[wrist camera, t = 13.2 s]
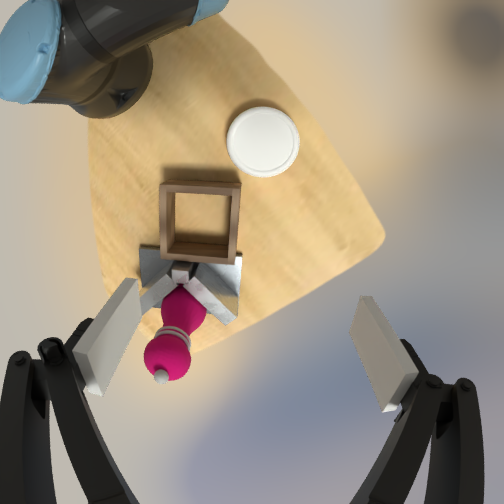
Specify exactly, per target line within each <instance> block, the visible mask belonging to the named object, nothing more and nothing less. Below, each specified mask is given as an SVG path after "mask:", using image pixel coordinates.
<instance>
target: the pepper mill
mask: <svg viewBox="0 0 504 504" xmlns="http://www.w3.org/2000/svg"><path fill="white" fill-rule="evenodd" d="M183 285H184V284H183V283H179V285H178V286H177V287H176V288H175V289H173V290H172V291H171V292H170V293H169V294H167V295H166V296H165V297H164V298H163V301H162V304H161V315H162V319H163V323H164V324H163V327H162V328H160V329H159V330H158V331H157V332H156V334H155V337H154V339H152V340H151V341H150V342H149V343H148V344H147V346H146V348H145V351H144V362H145V365H146V367H147V369H148V370H149V371H150V373H152V374H153V375H154V379H155V381H156V382H157V383H159V384H164V383H166V382H167V381H171V380H177V379H179V378H181V377H183V376H184V375H185V374H186V373H187V371H188V369H189V367H190V363H191V356H190V352H189V351H190V347H191V340H190V338H189V336H190V334H191V333H192V332H193V331H195V330H196V329H197V328H198V327H199V326H200V325H201V324H202V322H203V321H204V318H205V316H206V313H207V308H206V307H204V306H203V305H202V304H201V303H200V302H199V301H198V300H197V299H196V298H195V297H194V296H193V295H192V294H191V293H190V292H189V291H188V290H187V289H186V288H184V287H183Z"/></svg>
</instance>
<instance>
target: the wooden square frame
mask: <svg viewBox="0 0 504 504" xmlns="http://www.w3.org/2000/svg"><path fill="white" fill-rule="evenodd" d="M241 184H242V183H231V182H216V181H198V180H175V179H169V180H167V181H165V182H163V183H162V184H160V188H159V220H160V256H161V259H166V260H178V261H189V262H201V263H213V264H225V265H235V258H236V249H237V235H238V222H239V209H240V196H241ZM175 192H176V193H195V194H212V195H227V196H232V205H231V219H230V235H229V245H217V244H204V243H191V242H178V241H175Z"/></svg>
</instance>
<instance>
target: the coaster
mask: <svg viewBox="0 0 504 504" xmlns="http://www.w3.org/2000/svg"><path fill="white" fill-rule="evenodd" d="M299 144H300V140H299V134H298V130H297V128H296V126H295V124H294V122H293V121H292V120H291V119H290V118H289V117H288V116H287V115H286V114H285V113H283V112H281V111H280V110H277V109H275V108H271V107H254V108H251V109H248V110H246V111H244V112H242V113H241V114H240V115H238V116H237V117H236V118H235V120H234V121H233V122H232V124H231V125H230V128H229V130H228V133H227V139H226V145H227V150H228V154H229V156H230V158H231V160H232V162H233V163H234V164H235V165H236V166H237V167H238V168H239V169H240V170H241V171H243V172H245V173H247V174H249V175H252V176H255V177H271V176H275V175H278V174H280V173H282V172H283V171H285V170H286V169H287V168H289V167H290V165H291V164H292V163H293V162H294V160H295V158H296V156H297V154H298V151H299Z"/></svg>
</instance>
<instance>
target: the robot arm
mask: <svg viewBox="0 0 504 504" xmlns="http://www.w3.org/2000/svg"><path fill="white" fill-rule="evenodd" d="M228 1H229V0H28V1H27V2H25V3H24V4H23V5H22V6H21V7H19V9H17V10H16V11H15V13H14V14H13V15H12V16H11V18H10V19H9V20H8V22H7V23H6V25H5V26H4V28H3V30H2V32H1V34H0V98H1V99H3V100H6V101H11V102H18V103H20V104H27V103H28V104H29V103H47V104H48V103H49V104H65V105H69V106H71V107H72V108H73V109H74V110H75V111H77V112H78V113H79V114H81V115H83V116H86V117H89V118H98V119H105V118H111V117H114V116H117V115H119V114H121V113H123V112H125V111H126V110H128V109H129V108H130V107H131V106H133V105H134V104H135V103H136V102H137V101H138V99H139V98H140V97H141V96H142V94H143V93H144V91H145V90H146V88H147V86H148V83H149V81H150V78H151V74H152V69H153V59H152V54H151V51H150V49H149V47H148V45H147V43H149V42H151V41H153V40H156V39H158V38H160V37H162V36H164V35H166V34H168V33H171V32H173V31H175V30H177V29H180V28H182V27H185V26H192V25H194V24H195V23H196V22H197V21H200V20H202V19H204V18H207V17H209V16H212V15H215V14H217V13H219V12H221V11H222V10H223V9H224V8H225V6H226V5H227V3H228ZM141 319H142V313H141V305H140V297H139V289H138V279H133V278H125V279H124V281H123V282H122V283H121V284H120V286H119V287H118V288H117V290H116V291H115V292H114V293H113V295H112V296H111V297H110V299H109V300H108V301H107V303H106V304H105V305H104V307H103V308H102V309H101V311H100V312H99V313H98V315H97V316H96V318H95V319H92V318H87V319H85V320H84V321H82V322H81V323H80V324H79V325H78V327H77V328H76V330H75V331H74V332H73V334H72V335H71V336H70V338H69V339H68V340H67V342H66V343H65V344H63V342H62V340H60V339H59V338H55V337H51V338H47V339H44V340H43V341H42V342H40V344H39V345H38V349H37V350H38V353H39V355H40V357H41V359H42V360H40V359H39V360H36V359H32V358H31V356H30V354H29V353H28V352H26V351H17V352H16V353H14V354H13V355H12V356H11V357H10V359H9V361H8V365H7V370H6V374H5V379H4V384H3V389H2V395H1V401H0V504H57V502H56V497H55V490H54V483H53V474H52V465H51V452H50V432H49V431H50V429H49V407H50V406H49V405H50V400H51V401H52V405H53V409H54V412H55V416H56V419H57V423H58V426H59V430H60V433H61V436H62V439H63V442H64V445H65V447H66V450H67V453H68V456H69V458H70V461H71V463H72V466H73V468H74V471H75V473H76V475H77V478H78V480H79V482H80V485H81V487H82V489H83V491H84V493H85V495H86V497H87V499H88V504H139V502H138V500H137V499H136V498H135V496H134V494H133V493H132V491H131V490H130V488H129V486H128V484H127V483H126V481H125V479H124V478H123V476H122V474H121V472H120V471H119V469H118V467H117V465H116V463H115V461H114V460H113V458H112V456H111V454H110V452H109V450H108V448H107V446H106V444H105V442H104V440H103V437H102V435H101V433H100V431H99V429H98V427H97V424H96V422H95V419H94V417H93V415H92V412H91V410H90V408H89V405H88V402H87V400H86V397H85V394H84V393H83V389H84V388H85V386H87V388H88V391H89V393H92V394H96V395H100V396H103V395H104V393H105V391H106V389H107V387H108V385H109V383H110V380H111V378H112V376H113V374H114V372H115V370H116V368H117V366H118V364H119V362H120V360H121V358H122V356H123V354H124V352H125V350H126V348H127V345H128V344H129V342H130V340H131V338H132V336H133V334H134V332H135V330H136V328H137V327H138V325H139V323H140V321H141ZM349 333H350V335H351V338H352V340H353V342H354V344H355V347H356V349H357V352H358V354H359V356H360V359H361V361H362V363H363V366H364V368H365V371H366V373H367V375H368V378H369V380H370V383H371V385H372V388H373V390H374V393H375V395H376V398H377V400H378V403H379V405H380V408H381V411H382V412H388V411H394V410H396V408H397V406H398V405H399V404H400V403H401V405H402V408H403V409H402V410H401V412H400V413H399V414H398V416H397V417H396V419H395V420H394V422H395V425H394V427H393V429H392V431H391V433H390V435H389V437H388V439H387V441H386V443H385V445H384V447H383V449H382V451H381V453H380V454H379V456H378V458H377V460H376V462H375V463H374V465H373V467H372V469H371V470H370V472H369V474H368V476H367V477H366V479H365V481H364V482H363V484H362V485H361V487H360V489H359V490H358V492H357V493H356V495H355V496H354V498H353V499H352V501H351V502H350V504H404V502H405V500H406V498H407V496H408V494H409V491H410V489H411V487H412V485H413V482H414V480H415V478H416V475H417V473H418V471H419V468H420V465H421V463H422V460H423V458H424V455H425V452H426V449H427V446H428V444H429V441H430V438H431V435H432V438H431V453H430V464H429V473H428V481H427V489H426V495H425V501H424V504H483V502H484V450H483V436H482V426H481V418H480V410H479V403H478V397H477V391H476V387H475V385H474V384H473V382H472V381H470V380H469V379H467V378H460V379H458V380H457V382H456V383H455V384H454V385H452V384H451V385H450V384H444V383H443V381H442V380H441V379H440V378H439V377H437V376H436V375H433V374H429V373H428V371H427V370H426V368H425V366H424V365H423V363H422V361H421V360H420V358H419V357H418V355H417V353H416V352H415V350H414V349H413V347H412V345H411V344H410V343H408V342H407V341H406V340H405V339H399V338H398V337H397V335H396V333H395V331H394V330H393V328H392V327H391V325H390V324H389V322H388V320H387V319H386V317H385V316H384V314H383V313H382V311H381V310H380V308H379V307H378V305H377V303H376V302H375V300H374V299H373V297H372V296H360V299H359V303H358V306H357V309H356V312H355V315H354V319H353V322H352V325H351V328H350V331H349Z"/></svg>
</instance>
